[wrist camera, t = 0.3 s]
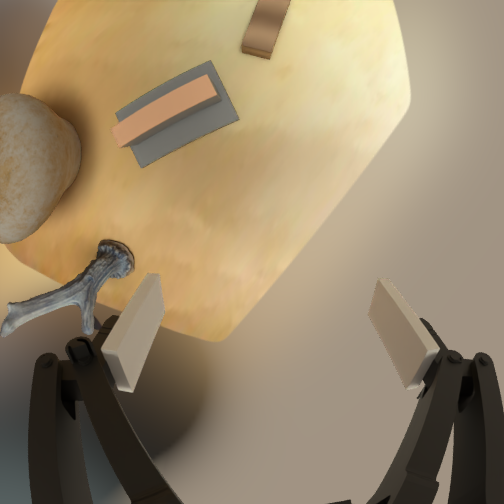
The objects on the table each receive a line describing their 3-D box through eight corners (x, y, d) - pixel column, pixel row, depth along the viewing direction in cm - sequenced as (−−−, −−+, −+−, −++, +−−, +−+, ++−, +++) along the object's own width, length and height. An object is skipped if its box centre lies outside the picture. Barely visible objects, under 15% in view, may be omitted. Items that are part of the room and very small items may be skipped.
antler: (137, 246, 44) (56, 345, 21) (133, 285, 47) (69, 389, 24) (81, 230, 43) (-13, 306, 20) (81, 268, 46) (3, 352, 23)
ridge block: (118, 113, 35) (95, 111, 29) (211, 61, 32) (203, 48, 26) (143, 167, 39) (124, 174, 32) (239, 119, 36) (236, 116, 30)
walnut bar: (263, -3, 28) (264, -14, 24) (289, 4, 28) (292, -7, 25) (242, 53, 32) (241, 45, 28) (269, 60, 33) (271, 52, 29)
